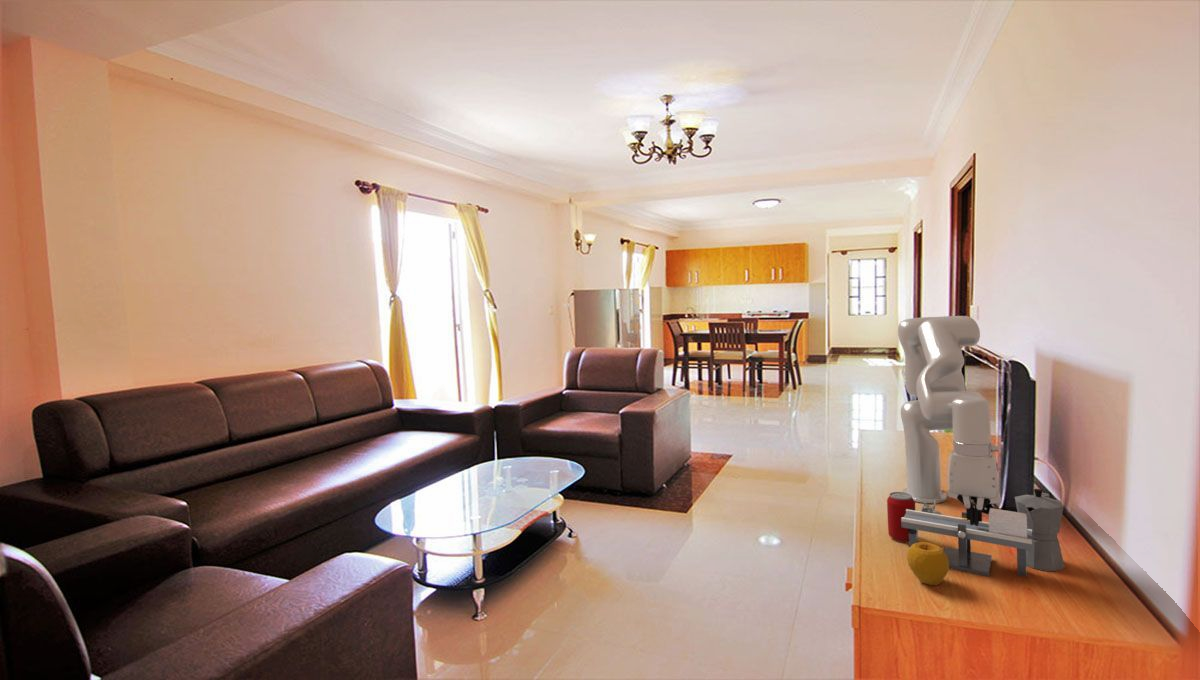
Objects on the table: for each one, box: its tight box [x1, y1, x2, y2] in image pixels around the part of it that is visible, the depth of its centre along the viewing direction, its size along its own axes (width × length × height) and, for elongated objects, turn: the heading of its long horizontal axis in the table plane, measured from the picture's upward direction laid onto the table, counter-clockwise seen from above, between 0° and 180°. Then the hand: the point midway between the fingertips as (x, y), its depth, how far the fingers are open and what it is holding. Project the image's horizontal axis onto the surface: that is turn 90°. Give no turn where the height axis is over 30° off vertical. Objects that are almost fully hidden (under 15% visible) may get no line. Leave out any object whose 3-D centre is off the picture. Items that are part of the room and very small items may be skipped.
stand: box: [908, 511, 1027, 578], centre depth 133 cm, size 11×24×11 cm, turn 51°
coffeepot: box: [1014, 488, 1066, 572], centre depth 131 cm, size 15×9×18 cm, turn 127°
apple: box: [906, 541, 950, 586], centre depth 126 cm, size 9×8×9 cm
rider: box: [988, 507, 1028, 539], centre depth 127 cm, size 4×7×5 cm, turn 51°
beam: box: [901, 509, 1032, 551], centre depth 133 cm, size 7×26×2 cm, turn 51°
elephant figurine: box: [920, 499, 947, 516], centre depth 155 cm, size 10×6×9 cm
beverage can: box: [886, 491, 917, 543], centre depth 149 cm, size 7×7×12 cm
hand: (974, 523), depth 132 cm, fingers closed
